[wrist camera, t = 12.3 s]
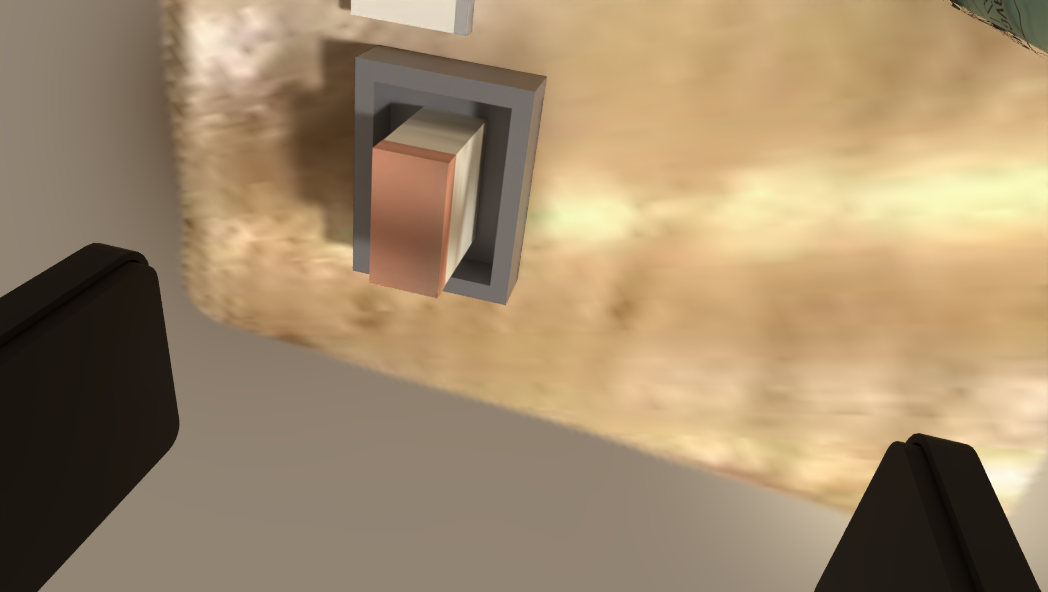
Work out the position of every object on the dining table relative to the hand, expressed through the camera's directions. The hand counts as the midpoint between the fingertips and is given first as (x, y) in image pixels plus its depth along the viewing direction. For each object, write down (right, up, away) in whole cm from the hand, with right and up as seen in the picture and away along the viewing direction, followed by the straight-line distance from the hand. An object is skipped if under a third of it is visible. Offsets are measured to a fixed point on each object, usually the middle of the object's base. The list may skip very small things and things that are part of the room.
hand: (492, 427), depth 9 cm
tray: (-4, +9, +32) cm, 33 cm away
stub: (-4, +8, +31) cm, 32 cm away
